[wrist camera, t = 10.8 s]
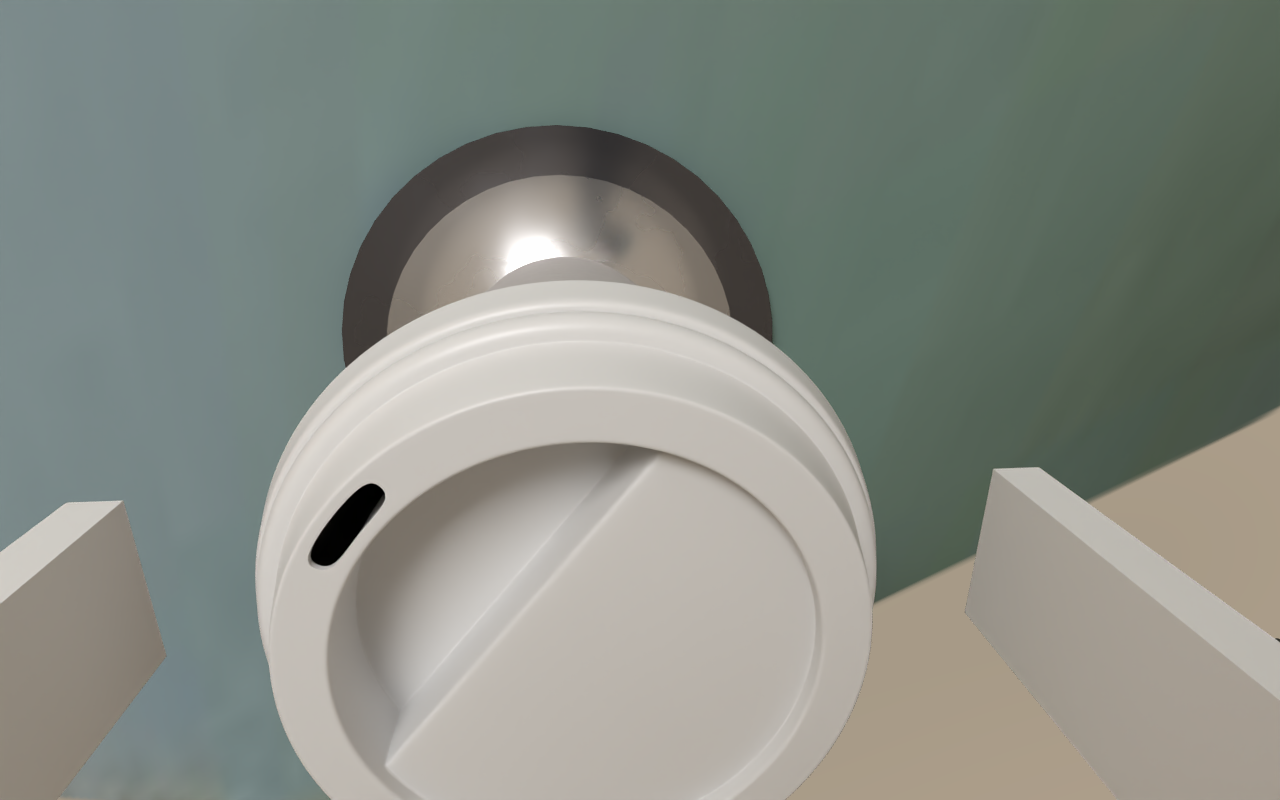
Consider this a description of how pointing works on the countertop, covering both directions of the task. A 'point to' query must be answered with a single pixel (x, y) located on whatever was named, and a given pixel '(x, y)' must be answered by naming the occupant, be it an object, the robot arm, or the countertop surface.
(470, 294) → the plate
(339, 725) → the coffee cup
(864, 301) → the countertop surface
